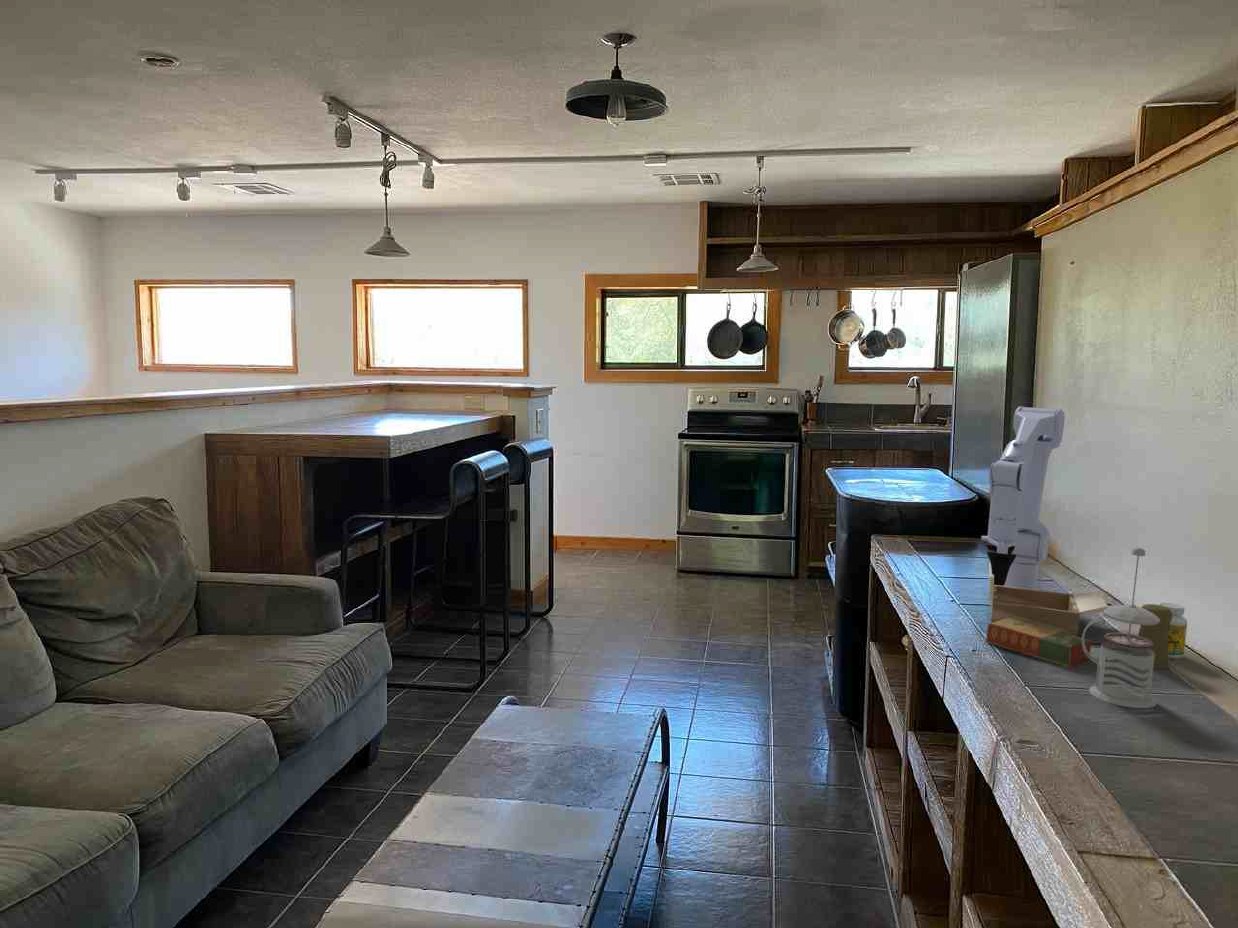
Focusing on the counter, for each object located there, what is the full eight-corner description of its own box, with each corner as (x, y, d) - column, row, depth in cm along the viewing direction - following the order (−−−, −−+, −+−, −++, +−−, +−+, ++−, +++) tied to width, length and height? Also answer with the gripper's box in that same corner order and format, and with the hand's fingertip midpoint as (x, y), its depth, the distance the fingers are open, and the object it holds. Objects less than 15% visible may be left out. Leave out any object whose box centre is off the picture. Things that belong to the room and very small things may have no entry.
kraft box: (990, 606, 200) (992, 584, 200) (1070, 616, 194) (1072, 594, 194) (990, 625, 186) (993, 602, 185) (1077, 637, 180) (1080, 613, 179)
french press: (1155, 713, 142) (1174, 557, 139) (1073, 695, 148) (1089, 546, 145) (1157, 694, 150) (1175, 547, 147) (1079, 678, 156) (1095, 537, 153)
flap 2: (1098, 589, 191) (1099, 592, 191) (1073, 594, 193) (1074, 598, 193) (1107, 606, 178) (1108, 610, 178) (1079, 612, 180) (1081, 615, 180)
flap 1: (992, 584, 199) (988, 584, 199) (993, 562, 199) (989, 562, 199) (993, 600, 185) (988, 600, 186) (994, 577, 185) (989, 576, 185)
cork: (1155, 671, 162) (1163, 611, 160) (1123, 660, 167) (1130, 602, 165) (1176, 667, 164) (1183, 608, 163) (1144, 656, 170) (1150, 599, 168)
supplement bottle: (1184, 654, 172) (1190, 605, 171) (1182, 661, 168) (1188, 611, 167) (1152, 647, 175) (1157, 599, 174) (1148, 654, 171) (1154, 605, 170)
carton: (1007, 637, 180) (1010, 616, 179) (1090, 660, 167) (1092, 638, 167) (985, 643, 175) (987, 622, 174) (1068, 668, 162) (1071, 645, 162)
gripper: (983, 511, 198) (977, 571, 200) (983, 521, 185) (977, 585, 186) (1018, 514, 195) (1012, 575, 197) (1021, 524, 182) (1015, 590, 184)
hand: (998, 581), depth 191 cm, fingers open, 7 cm apart
